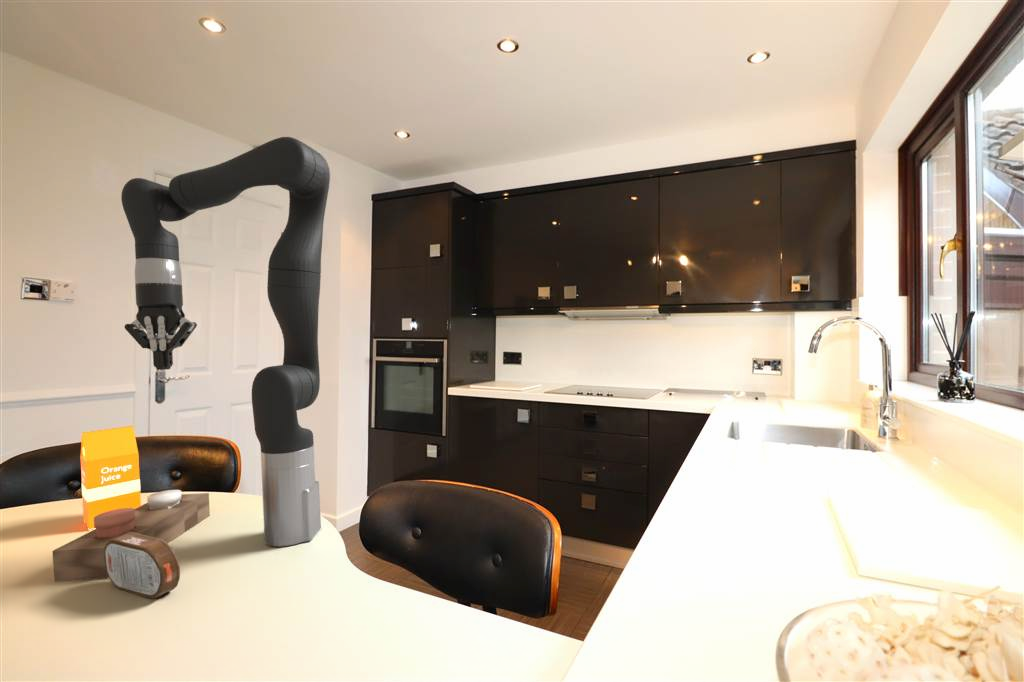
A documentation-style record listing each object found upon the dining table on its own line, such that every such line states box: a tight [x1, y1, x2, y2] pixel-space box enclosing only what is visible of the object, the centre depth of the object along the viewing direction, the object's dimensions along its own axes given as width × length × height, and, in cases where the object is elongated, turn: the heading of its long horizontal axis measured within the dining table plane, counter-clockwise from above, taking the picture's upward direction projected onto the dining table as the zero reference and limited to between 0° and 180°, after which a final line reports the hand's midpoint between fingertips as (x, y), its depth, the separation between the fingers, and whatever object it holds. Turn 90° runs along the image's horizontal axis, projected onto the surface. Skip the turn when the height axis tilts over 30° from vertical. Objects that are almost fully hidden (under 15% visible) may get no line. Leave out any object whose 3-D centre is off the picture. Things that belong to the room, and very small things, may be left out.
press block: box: [52, 492, 211, 582], centre depth 90 cm, size 10×26×5 cm, turn 4°
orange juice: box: [79, 425, 142, 529], centre depth 102 cm, size 8×9×20 cm
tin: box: [104, 532, 181, 599], centre depth 72 cm, size 15×3×8 cm, turn 67°
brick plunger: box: [94, 508, 136, 538], centre depth 83 cm, size 6×6×6 cm
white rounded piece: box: [146, 489, 182, 510], centre depth 96 cm, size 6×6×6 cm
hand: (163, 369), depth 94 cm, fingers closed
